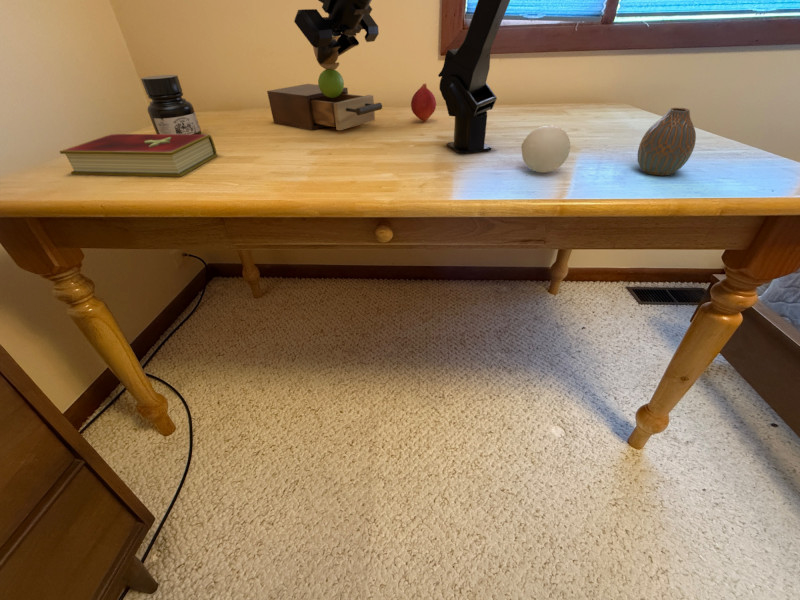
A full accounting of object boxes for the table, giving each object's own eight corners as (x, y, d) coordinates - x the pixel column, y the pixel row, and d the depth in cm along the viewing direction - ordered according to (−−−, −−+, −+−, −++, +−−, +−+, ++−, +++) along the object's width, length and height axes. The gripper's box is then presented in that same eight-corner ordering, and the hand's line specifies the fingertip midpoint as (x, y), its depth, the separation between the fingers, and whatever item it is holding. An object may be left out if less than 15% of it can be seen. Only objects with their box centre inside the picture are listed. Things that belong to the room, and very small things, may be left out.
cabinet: (350, 119, 96) (347, 87, 91) (312, 130, 88) (306, 95, 84) (312, 113, 103) (307, 83, 99) (273, 122, 95) (266, 90, 91)
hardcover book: (121, 154, 77) (111, 132, 74) (217, 155, 74) (210, 132, 71) (72, 174, 67) (58, 149, 65) (180, 176, 64) (170, 150, 62)
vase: (682, 182, 55) (709, 116, 50) (629, 174, 58) (649, 111, 53) (683, 168, 60) (708, 106, 55) (634, 162, 63) (654, 103, 58)
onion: (408, 123, 90) (407, 85, 85) (414, 118, 94) (414, 81, 90) (432, 124, 89) (433, 85, 84) (437, 119, 93) (438, 81, 88)
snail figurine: (325, 96, 87) (318, 31, 80) (349, 96, 84) (344, 30, 78) (311, 98, 83) (302, 31, 76) (336, 99, 80) (329, 29, 74)
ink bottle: (163, 146, 80) (138, 81, 73) (152, 139, 86) (128, 77, 79) (209, 137, 85) (190, 75, 78) (196, 131, 91) (177, 72, 84)
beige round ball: (540, 161, 65) (547, 118, 61) (573, 173, 60) (584, 127, 56) (508, 168, 62) (514, 124, 58) (540, 181, 57) (549, 134, 53)
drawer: (389, 122, 88) (388, 96, 85) (354, 133, 81) (352, 105, 78) (335, 114, 97) (332, 90, 94) (300, 123, 90) (296, 98, 87)
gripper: (361, -44, 74) (328, 27, 86) (290, -53, 62) (262, 31, 74) (397, 4, 75) (359, 68, 87) (333, 5, 63) (299, 79, 75)
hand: (322, 61), depth 81 cm, fingers closed on snail figurine
